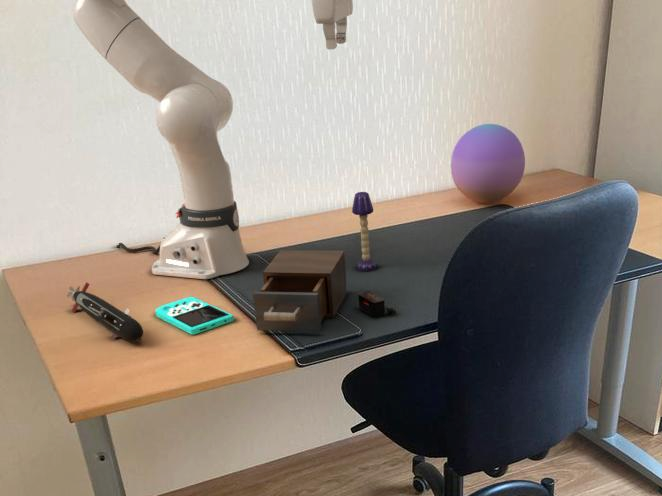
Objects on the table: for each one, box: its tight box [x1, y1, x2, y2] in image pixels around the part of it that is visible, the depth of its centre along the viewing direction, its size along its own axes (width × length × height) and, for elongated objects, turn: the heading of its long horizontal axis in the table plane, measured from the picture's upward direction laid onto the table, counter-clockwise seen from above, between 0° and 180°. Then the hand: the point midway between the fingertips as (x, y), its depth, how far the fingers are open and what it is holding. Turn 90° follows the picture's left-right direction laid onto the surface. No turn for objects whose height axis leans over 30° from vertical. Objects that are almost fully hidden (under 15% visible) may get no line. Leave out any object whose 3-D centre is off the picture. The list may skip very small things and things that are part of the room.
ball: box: [450, 123, 526, 204], centre depth 225 cm, size 20×20×20 cm
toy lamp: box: [351, 191, 377, 272], centre depth 184 cm, size 5×5×17 cm
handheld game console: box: [154, 296, 235, 336], centre depth 169 cm, size 10×16×1 cm, turn 41°
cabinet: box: [262, 249, 348, 319], centre depth 170 cm, size 14×14×9 cm
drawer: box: [252, 276, 329, 333], centre depth 160 cm, size 17×12×7 cm
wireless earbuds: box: [357, 290, 397, 318], centre depth 166 cm, size 5×7×3 cm, turn 31°
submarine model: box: [66, 282, 144, 343], centre depth 166 cm, size 31×7×10 cm
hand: (336, 46), depth 163 cm, fingers open, 8 cm apart
